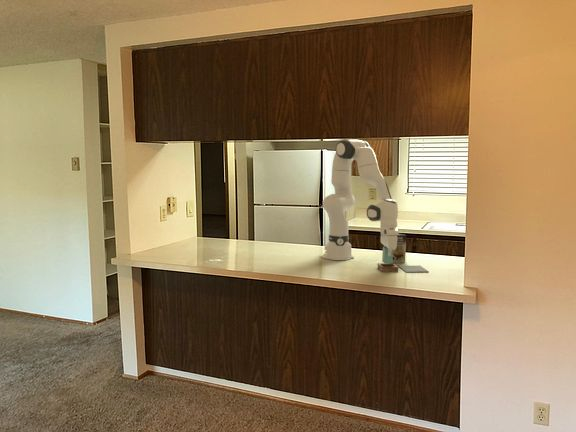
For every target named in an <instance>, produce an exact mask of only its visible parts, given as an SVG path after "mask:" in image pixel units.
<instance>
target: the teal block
mask: <svg viewBox="0 0 576 432" xmlns="http://www.w3.org/2000/svg"><path fill="white" fill-rule="evenodd" d="M387 252H388V248H387V247H384V246H382V260H381V261H382V263H393V250H392V252H391V256H388V255H387Z"/></svg>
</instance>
